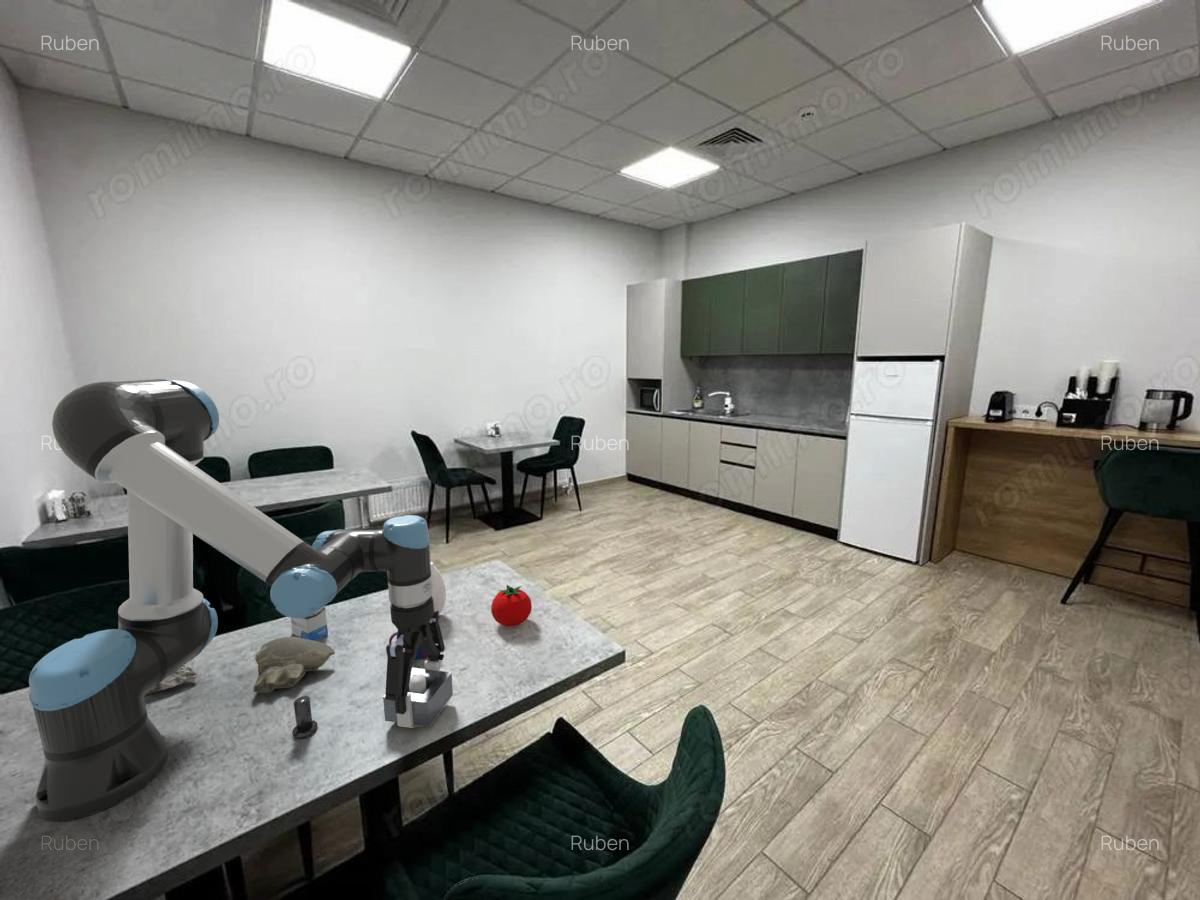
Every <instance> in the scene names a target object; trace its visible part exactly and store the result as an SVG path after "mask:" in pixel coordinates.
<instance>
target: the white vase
mask: <svg viewBox="0 0 1200 900" xmlns="http://www.w3.org/2000/svg"><path fill="white" fill-rule="evenodd" d="M431 579H432V585H433V587H432V591H433V594H432V597H433V602H434V610H436V611H438V612H439V615H440V614H441V613H442V611H443V609H444V608H445V605H446V599H447V591H446V585H445V581H444V578H443V576H442V575H441V572H440V571H439V569H438V568H437V567H436V565H434V562H433V561H431Z"/></svg>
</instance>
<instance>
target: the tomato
mask: <svg viewBox="0 0 1200 900" xmlns="http://www.w3.org/2000/svg"><path fill="white" fill-rule="evenodd" d="M521 587H522V585H520V586H517V587H512V586H510V585H509V584H506V589H505V588H504V589H502V590H501V589H498V591H499V592H497V594H496V595H495V596H494V598H493V599H492V601H491V607H490V609H491V615H492V617H493V619H494V620H495V622H497V623H498V624H499V625H501V626H504V627H508V628H510V627H511V628H512V627H513V628H514V627H516V626H519V625H522V624H523V623H524V622H525V621H527V619H529V616H530V615H531V612H532V601H531V597H530V595H528V593H527V592H525V591H524V590H522V589H520V588H521Z"/></svg>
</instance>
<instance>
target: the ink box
mask: <svg viewBox="0 0 1200 900" xmlns="http://www.w3.org/2000/svg"><path fill="white" fill-rule="evenodd" d="M290 625H291V633H292V634H293V635H295V637H299V638H303V639H308V640H314V641H317V640H319V639H321V638H323V637H326V636H327V635H329V630H328V621H327V611H326V605H325V606H323V607H322V608H321V609H319V610H318V611H317V612H315V613H314V614H312V615H310V616H308V617H304V618H291V617H290Z"/></svg>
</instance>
